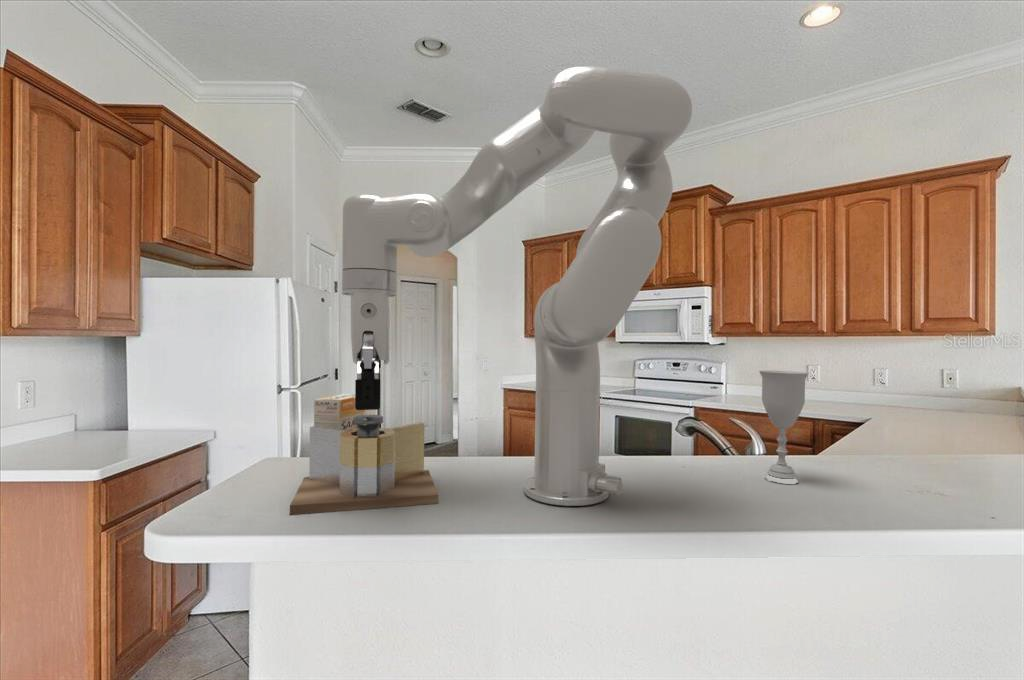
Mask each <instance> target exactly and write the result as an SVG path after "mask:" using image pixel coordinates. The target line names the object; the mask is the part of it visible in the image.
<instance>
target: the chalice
mask: <svg viewBox="0 0 1024 680" xmlns="http://www.w3.org/2000/svg"><path fill="white" fill-rule="evenodd" d="M758 372H759V374H760V376H761V379H762V380H761V401H762V404H763V406H764V410H765V412H766V414H767V416H768V418H769V420H770V422H771V424H772V426H774V427H776V428H777V429H778V436H777V438H776V441H777V444H778V446H777V448H776V449H775V452H776V453H777V457H778V458H777V459H778V460H777V462H775V463H774V464H772V465H771V466H769V468H768V470H767V472H766V475H767V474H768V475H769V476H772V477H775V478H780V479H794V478H797V475H796V473H795V470H794V469H793V468H792V467H791V466H790V465H788V463H787V462H786V456H787V453H789V451H788V449H787V448H786V444H787V442H788V441H789V440H788V439H787V434H786V432H787V429H789V428H793V426H794V425H795V423H796V421H797V420H798V418H799V416H800V415H801V412H802V411H803V408H804V406H805V399H806V379H807V377H808V376H809V374H810V373H809V372H805V371H795V370H793V371H792V370H791V371H790V370H758Z"/></svg>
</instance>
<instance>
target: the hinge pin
mask: <svg viewBox="0 0 1024 680" xmlns="http://www.w3.org/2000/svg"><path fill="white" fill-rule="evenodd" d="M383 423H384V416H383V415H379V414H364V415H360V416H355V417H354V424H356V425H357V436H377V435H379V428H380V425H381V424H383Z"/></svg>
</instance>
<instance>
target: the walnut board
mask: <svg viewBox="0 0 1024 680" xmlns="http://www.w3.org/2000/svg"><path fill="white" fill-rule="evenodd" d="M438 503H439V494H438V492H437V488H436V485H435V483H434V480H433V478H432V475H431V473H430V469H424V473H421V474H418V475H415V476H411V477H408V478H405V479H402V480H398V481H395V482H394V490H393V491H391V492H388V493H385V494H383V495H376V496H372V497H358V498H357V496H356V497H350V496H346V495H342V494H341V493H340V485H337V484H331V483H326V482H320V481H315V480H309V476H304V477H303V479H302V480H301V483H300V485H299V487H298V488H297V491H296V492H295V495H294V496H293V499H292V501H291V503H290V504H289V515H290V516H292V515H302V514H303V515H305V514H315V513H316V514H317V513H329V512H343V511H345V512H346V511H356V510H370V509H384V508H395V507H398V508H399V507H407V506H408V507H409V506H410V507H411V506H419V505H420V506H423V505H434V504H438Z"/></svg>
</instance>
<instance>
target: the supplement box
mask: <svg viewBox="0 0 1024 680" xmlns="http://www.w3.org/2000/svg"><path fill="white" fill-rule="evenodd" d="M313 402H314V403H313V404H314V405H313V407H314V408H313V410H314V411H313V426H321V427H329V428H337V429H346V430H354V429H357V425H356V424H354V417H355V416H360V415H365V410H356V408H355V393H354V394H353V393H341V394H336V395H330V396H327V397H321V398H320V397H319V398H315V399H314V400H313Z"/></svg>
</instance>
